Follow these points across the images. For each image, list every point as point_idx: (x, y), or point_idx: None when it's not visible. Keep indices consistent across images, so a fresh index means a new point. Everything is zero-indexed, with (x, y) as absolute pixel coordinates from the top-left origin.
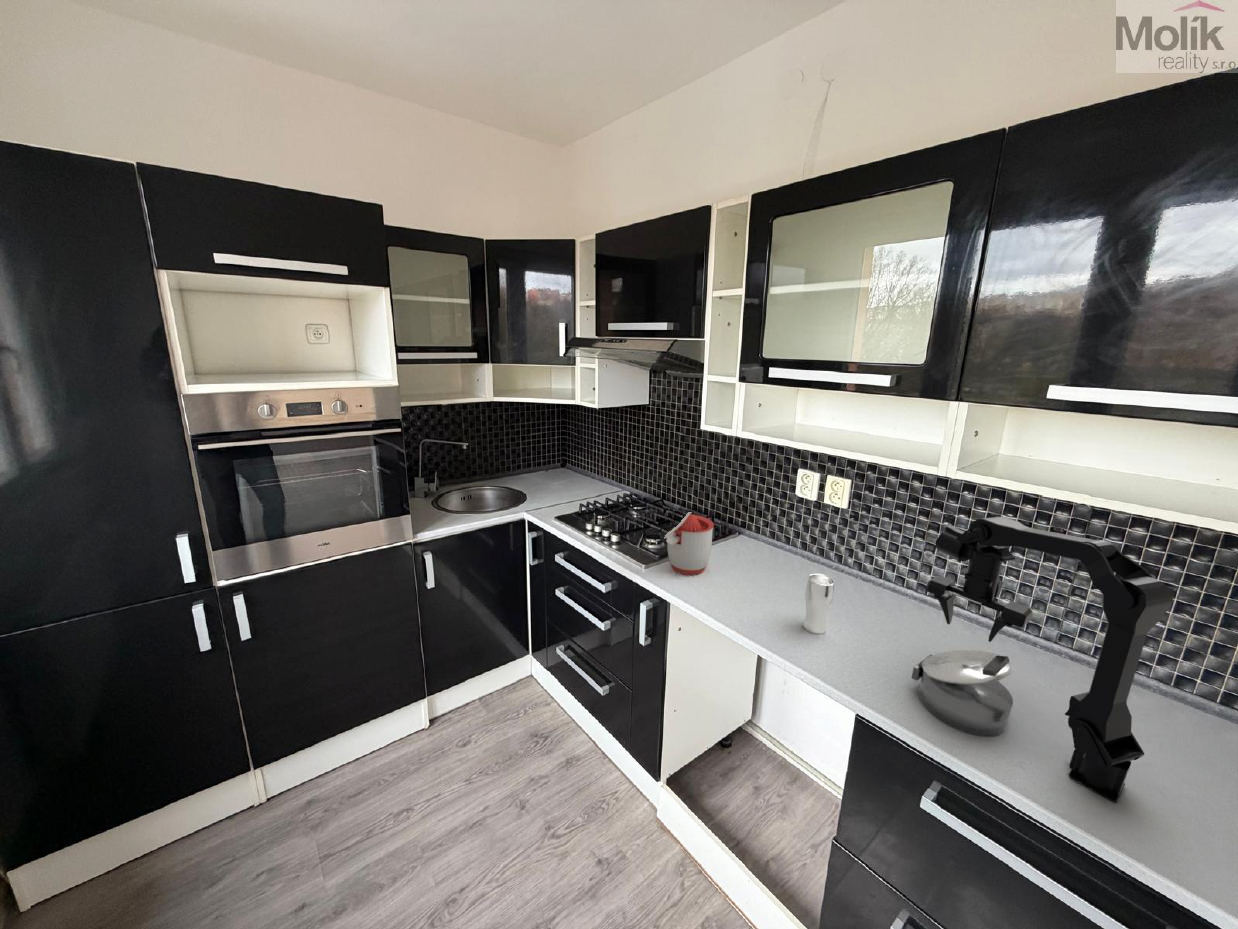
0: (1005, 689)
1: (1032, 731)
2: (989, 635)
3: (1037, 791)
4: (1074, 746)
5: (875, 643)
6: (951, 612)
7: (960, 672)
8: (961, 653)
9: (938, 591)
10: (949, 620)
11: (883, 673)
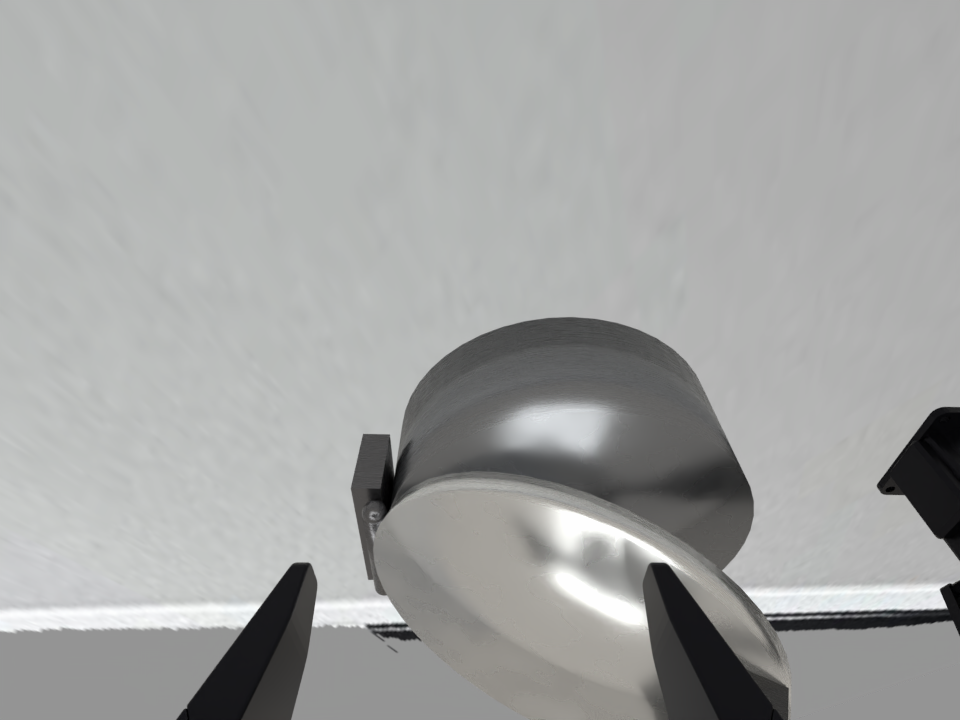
0: (724, 465)
1: (799, 373)
2: (658, 677)
3: (779, 563)
4: (943, 596)
5: (61, 320)
6: (266, 713)
7: (561, 702)
8: (495, 538)
9: None
10: (308, 647)
11: (274, 472)
